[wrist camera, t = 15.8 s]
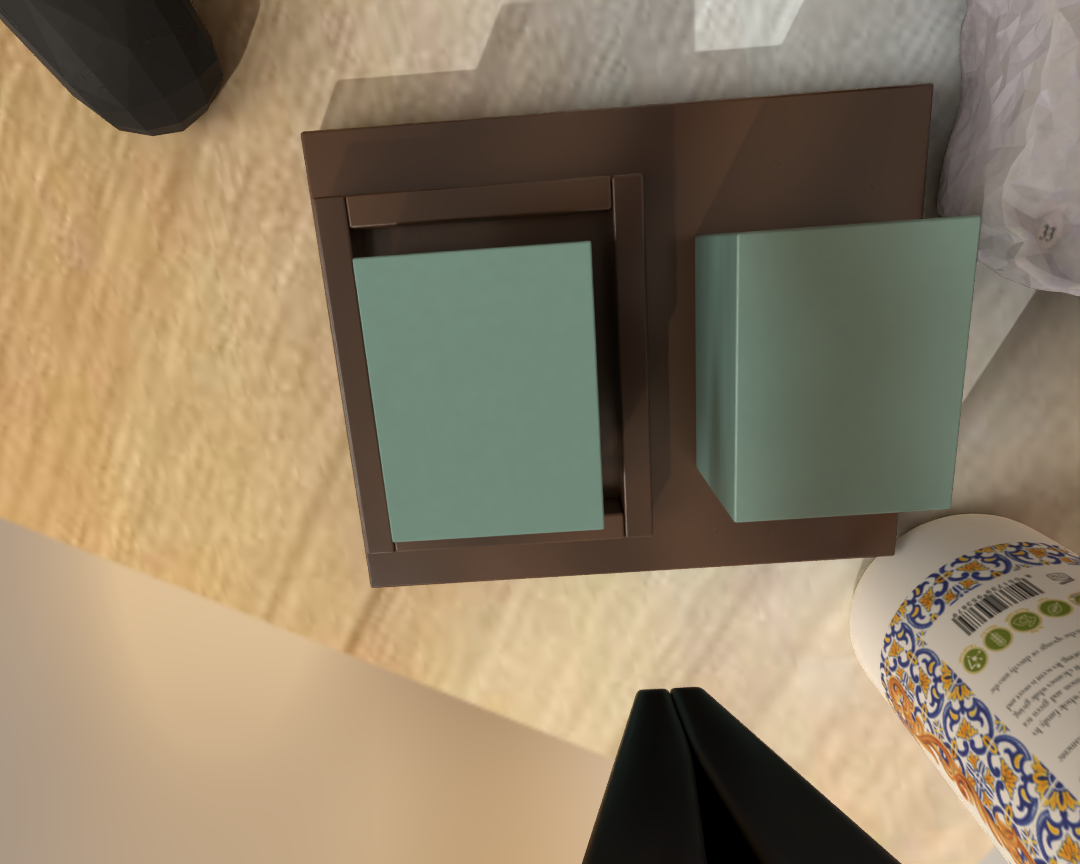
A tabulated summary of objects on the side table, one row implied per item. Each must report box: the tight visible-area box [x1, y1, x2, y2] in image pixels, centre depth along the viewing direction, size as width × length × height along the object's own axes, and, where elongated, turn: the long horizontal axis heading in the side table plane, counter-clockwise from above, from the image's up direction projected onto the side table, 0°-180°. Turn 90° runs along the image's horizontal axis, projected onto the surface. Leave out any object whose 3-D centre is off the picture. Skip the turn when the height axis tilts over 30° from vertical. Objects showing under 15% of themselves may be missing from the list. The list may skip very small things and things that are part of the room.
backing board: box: [301, 83, 981, 588], centre depth 17 cm, size 16×13×5 cm
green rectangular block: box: [353, 241, 605, 542], centre depth 17 cm, size 5×6×4 cm
